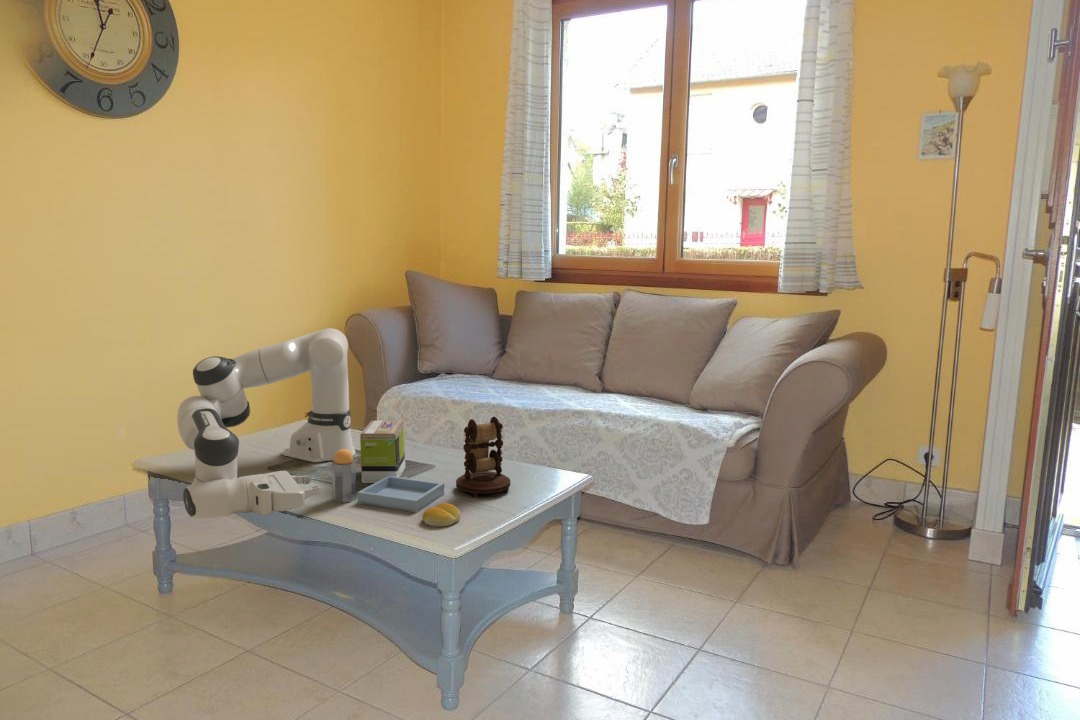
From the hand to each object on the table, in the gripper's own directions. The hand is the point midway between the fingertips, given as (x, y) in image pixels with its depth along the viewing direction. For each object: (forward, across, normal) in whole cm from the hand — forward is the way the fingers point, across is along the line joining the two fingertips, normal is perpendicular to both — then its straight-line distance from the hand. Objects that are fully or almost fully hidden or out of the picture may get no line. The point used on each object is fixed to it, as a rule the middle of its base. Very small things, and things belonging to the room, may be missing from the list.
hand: (314, 484), depth 194 cm
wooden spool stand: (+43, +9, -5) cm, 44 cm away
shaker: (+8, 0, -5) cm, 9 cm away
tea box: (+23, -14, -5) cm, 28 cm away
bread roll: (+24, +25, -5) cm, 35 cm away
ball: (+8, 0, +6) cm, 10 cm away
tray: (+21, +6, -5) cm, 22 cm away
